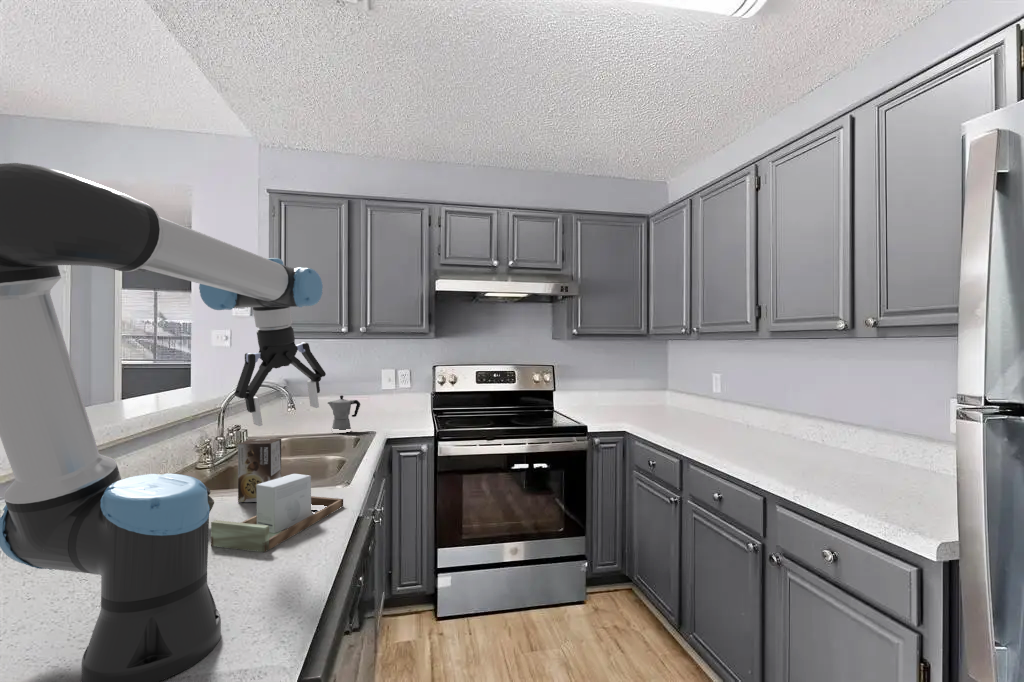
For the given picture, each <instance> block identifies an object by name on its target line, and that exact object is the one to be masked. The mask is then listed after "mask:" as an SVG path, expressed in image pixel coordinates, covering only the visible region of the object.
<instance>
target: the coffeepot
mask: <svg viewBox="0 0 1024 682" xmlns="http://www.w3.org/2000/svg"><path fill="white" fill-rule="evenodd" d="M339 397H340V399H337V400H332V401H328V402H327V404H328V405H329V406H330V408H331V410H332V414H333V416H334V417H333V420H332V426H331V429H332V428H333V429H339V430H346V429H351V430H352V427H351V423H350V421H351V420H350V418H349V415H350V414H351V408H352V405H356V406H355V410H354V414H351V417H352V418H355V417H357V415H358V412H359V409H360V408H361V403H360V401H358V400H357V399H354V400H353V399H351V400H348V399H344V395H339Z"/></svg>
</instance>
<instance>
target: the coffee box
mask: <svg viewBox="0 0 1024 682" xmlns="http://www.w3.org/2000/svg"><path fill="white" fill-rule="evenodd" d="M237 460H238V461H237V503H238V502H257V491H256V485H257V484H260V483H263V482H267V481H270V480H274V479H277V478H280V477H282V438H250V439H246V440H245V441H242V442H240V443H238V444H237Z"/></svg>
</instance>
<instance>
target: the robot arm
mask: <svg viewBox="0 0 1024 682" xmlns="http://www.w3.org/2000/svg"><path fill="white" fill-rule="evenodd" d="M59 266H89V267H99V268H100V267H101V268H107V269H112V270H114V271H119V272H125V273H126V272H131V273H132V272H134V271H137V270H140V269H142V270H147V271H150V272H154V273H158V274H160V275H165V276H169V277H172V278H176V279H181V280H185V281H188V282H191V283H195V284H199V286H198V289H199V294H200V298H201V300H202V301H203V303H204V304H205V306H207V307H208V308H210V309H212V310H214V311H224V310H228V311H231V310H233V309H237V308H252V312H253V318H254V323H255V327H256V328H258V329H257V330H256V338H257V343H258V348H259V349H258V350H259V351H258V352H254V353H253V352H252V353H251V352H245V354H244V364H243V368H242V371H241V373H240V377H239V380H238V382H237V385H236V388H235V391H234V396H235V397H237V398H239V399H244V400H245V406H246V411H247V412H248V413H251V416H252V421H253V424H254V425H255V426H258V427H261V426H263V420H262V419H263V418H262V414H261V407H260V400H259V397H257V396H256V394H257V393H258V391H259V390H260V388H261V386H262V384H263V383H264V381H265V380H266V378H267V376H268V375H269V373H270V372H272V370H273V369H279V368H281V367H289V366H290V365H292V366H294V368H296V369H297V370H299V372H301V373H302V374H303V375H304V376H306V377H307V378H308V380H307V381H306V382H307V383H306V384H307V390H308V392H307V393H308V399H309V405H310V407H312V408H316V409H317V408H320V404H319V396H318V394H319V393H320V391H321V389H320V388H321V387H320V382H321V380H322V378H324V377H325V376H326V375H327V374H326V371H325V370H324V368H323V367H322V366H321V364H320V363H319V361H318V360H317V359H316V357H315V355H314V354H313V352H312V351H311V348H310V344H309V343H308V342H304V341H299V343H298V344H296V343H295V341H296V338H295V332H294V327H293V326H292V324H293V317H292V311H291V308H292V307H295V308H296V307H298V308H303V307H311V306H315V305H317V304H318V303H319V302H320V300H321V299H322V296H323V288H324V287H323V281H322V278H321V276H320V274H319V273H318V271H316V270H315V269H313V268H309V267H302V266H299V267H289V266H287V265H285V264H284V261H283V260H282V259H281V258H279V257H269V258H266V257H263V256H261V255H258V254H256V253H253V252H250V251H248V250H245V249H244V248H239V247H238V246H236V245H232V244H230V243H227V242H225V241H222V240H220V239H217V238H215V237H212V236H210V235H207V234H205V233H202V232H199V231H197V230H194V229H192V228H189V227H187V226H184V225H182V224H179V223H176V222H174V221H172V220H169V219H167V218H164V217H162V216H159V213H158V212H157V211H156V210H155V208H154V207H153V206H151V205H150V204H148V203H147V202H144V201H142V200H139V199H137V198H135V197H132V196H130V195H128V194H125V193H124V192H123V193H122V192H120V191H117V190H115V189H113V188H110V187H107V186H105V185H102V184H99V183H96V182H94V181H91V180H88V179H85V178H83V177H80V176H76V175H73V174H70V173H68V172H64V171H62V170H59V169H58V170H57V169H53V168H50V167H45V166H42V165H37V164H36V165H35V164H28V163H19V162H7V163H0V441H1V443H2V446H3V448H4V452H5V454H6V457H7V459H8V462H9V465H10V468H11V471H12V473H13V476H14V480H13V481H12V483H11V484H10V485H9V486H8V487H7V488H6V490H5V491H4V492H3V499H4V502H5V505H4V507H3V509H2V511H3V514H2V515H1V516H0V549H1V551H2V552H3V553H4V554H5V555H6V556H7V557H8V558H10V559H11V560H13V561H14V562H17V563H20V564H23V565H25V566H29V567H31V568H36V569H39V570H58V571H66V572H73V573H74V572H76V573H84V574H91V575H99V576H101V578H100V579H101V580H100V585H101V586H100V591H101V592H100V610H99V614H98V617H97V620H96V622H95V625H94V627H93V631H92V634H91V637H90V639H89V642H88V645H87V646H86V649H85V651H84V653H83V655H82V658H81V681H82V682H161V681H164V680H167V679H169V678H171V677H173V676H175V675H179V674H180V673H181V672H184V671H186V670H187V669H189V668H191V667H192V666H194V665H196V664H197V663H198V662H200V661H201V660H202V659H204V658H205V657H206V656H207V655H208V654H210V653H211V652H212V651H213V650H214V648H215V647H216V646H217V645H218V643H219V641H220V639H221V634H222V618H221V614H220V611H218V609H217V605H216V602H215V599H214V596H213V594H212V592H211V589H210V587H209V584H208V564H209V563H208V560H209V559H208V558H209V557H208V556H209V532H210V530H209V528H210V526H209V525H210V513H211V511H210V512H209V509H210V507H209V504H208V495H207V489H206V485H205V484H204V483H203V482H202V481H201V480H200V479H198V478H196V477H194V476H190V475H185V474H181V473H180V474H179V473H170V472H169V473H164V474H158V473H148V474H147V473H146V474H138V475H134V476H130V477H126V478H122V477H121V474H120V471H119V467H118V464H117V462H116V461H117V460H115V459H114V458H112V457H110V456H108V455H104V454H101V453H100V451H99V449H98V446H97V442H96V440H95V436H94V432H93V428H92V426H91V423H90V419H89V417H88V413H87V410H86V407H85V404H84V400H83V396H82V394H81V390H80V387H79V383H78V380H77V377H76V373H75V371H74V367H73V364H72V361H71V358H70V357H71V356H70V354H69V351H68V348H67V344H66V342H65V337H64V335H63V331H62V329H61V325H60V323H59V318H58V316H57V312H56V309H55V306H54V303H53V299H52V295H51V290H52V289H53V288H54V287H55V286H56V284H57V283H58V282H59V281H60V279H62V275H61V273H60V269H59ZM297 352H299V353H301V354H302V356H303V357H304V359H305V361H307V363H308V365H309V366H310V367H311V369H312V370H313V371H312V370H311V369H310V368H309V367H307V366H306V365H305V364H304V363H303V362H302V361H301V360H300V359H299V358H297V357H296V355H297ZM259 359H260V360H261V361H262V362H261V363H260V365H259V366H258V367H259V368H258V370H257V372H256V373H255V375H254V371H255V368H256V363H258V360H259ZM253 375H254V376H253ZM252 377H253V378H252ZM309 379H310V380H309Z"/></svg>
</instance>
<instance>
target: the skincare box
mask: <svg viewBox="0 0 1024 682" xmlns="http://www.w3.org/2000/svg"><path fill="white" fill-rule="evenodd" d="M256 491H257V503H256V515H257V524H258V525H268V526H269V532H271V533H277V532H279V531H284V530H285V529H287V528H289V527H291V526H293V525H295V524H296V523H298V522H300V521H302V520H304V519H305V518H307V517H309V516H311V515H312V512H311V496H312V476H311V475H308V474H300V473H291V474H287V475H285V476H281V477H280V478H277V479H274V480H270V481H267V482H263V483H260V484H257V485H256Z"/></svg>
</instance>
